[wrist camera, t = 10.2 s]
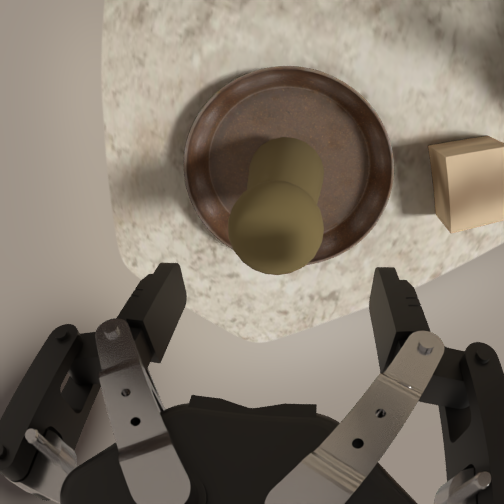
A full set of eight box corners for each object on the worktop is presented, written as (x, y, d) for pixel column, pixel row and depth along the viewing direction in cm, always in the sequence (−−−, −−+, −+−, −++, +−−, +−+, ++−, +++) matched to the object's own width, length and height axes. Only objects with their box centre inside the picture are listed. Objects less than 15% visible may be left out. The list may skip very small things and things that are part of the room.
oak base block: (427, 145, 24) (445, 157, 21) (487, 135, 22) (509, 146, 19) (435, 214, 27) (450, 233, 24) (491, 201, 25) (510, 218, 22)
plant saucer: (351, 43, 21) (358, 40, 19) (401, 224, 29) (410, 239, 26) (164, 112, 27) (150, 116, 24) (237, 267, 34) (232, 285, 32)
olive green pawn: (283, 220, 27) (268, 308, 18) (234, 169, 26) (190, 237, 16) (339, 178, 24) (357, 253, 15) (289, 121, 23) (276, 162, 14)
